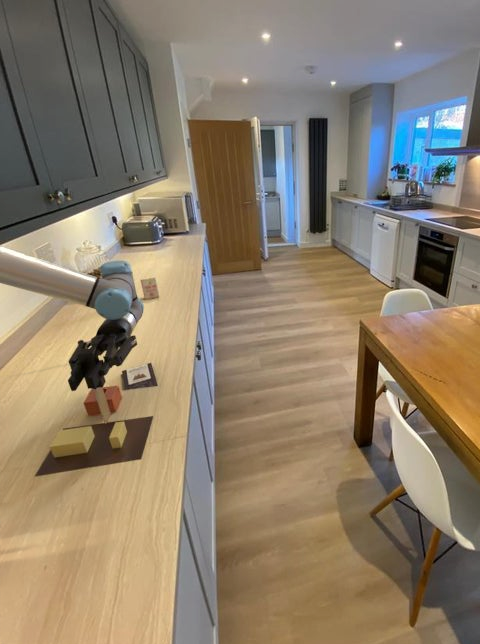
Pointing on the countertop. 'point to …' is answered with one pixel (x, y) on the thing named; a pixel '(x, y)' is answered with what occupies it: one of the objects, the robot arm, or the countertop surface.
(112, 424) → the board
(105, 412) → the knife
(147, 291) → the tea bag
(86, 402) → the knife stand
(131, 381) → the chocolate bar
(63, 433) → the butter
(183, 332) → the countertop surface
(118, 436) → the butter slice
